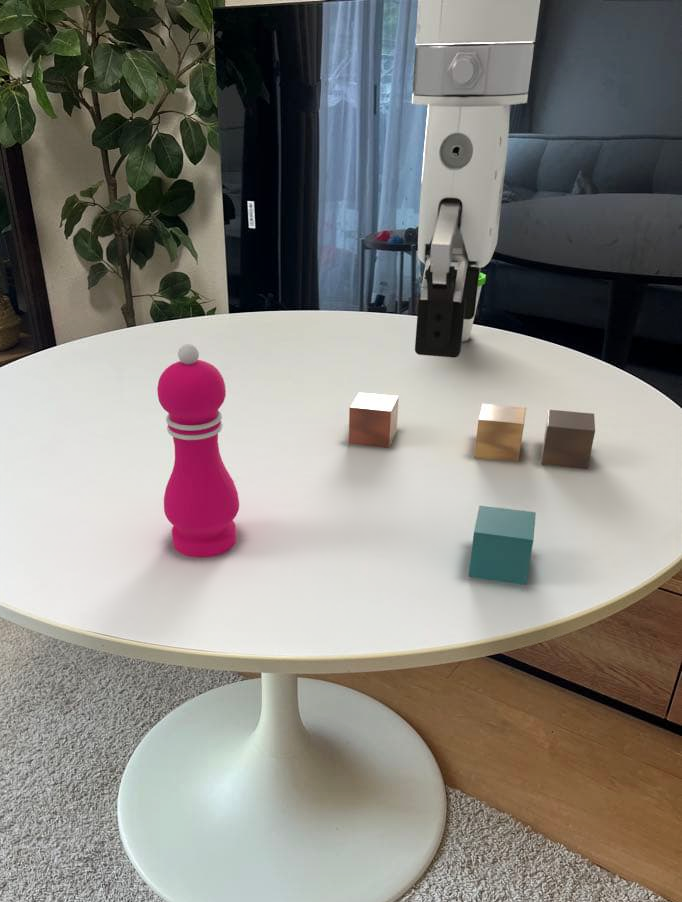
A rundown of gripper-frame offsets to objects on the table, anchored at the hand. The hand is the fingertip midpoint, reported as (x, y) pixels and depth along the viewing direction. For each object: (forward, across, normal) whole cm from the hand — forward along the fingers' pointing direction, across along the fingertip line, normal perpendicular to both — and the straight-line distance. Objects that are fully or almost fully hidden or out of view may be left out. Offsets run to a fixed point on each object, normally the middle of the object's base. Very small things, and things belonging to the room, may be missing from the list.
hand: (446, 334), depth 61 cm
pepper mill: (+22, 0, +21) cm, 31 cm away
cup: (+22, +70, +6) cm, 73 cm away
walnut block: (+22, +28, -12) cm, 37 cm away
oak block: (+22, +28, -4) cm, 36 cm away
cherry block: (+22, +28, +10) cm, 37 cm away
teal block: (+22, +2, -7) cm, 23 cm away
